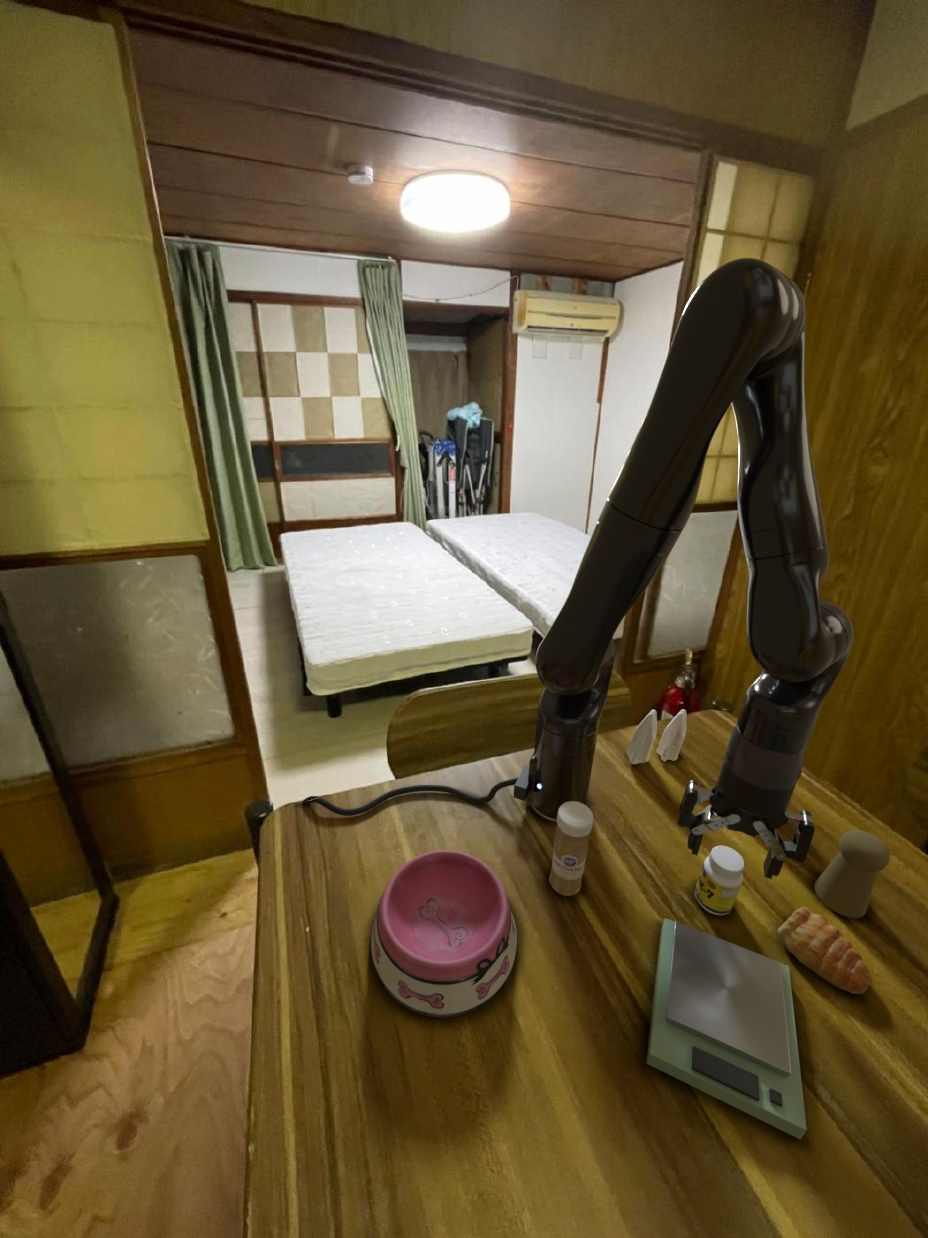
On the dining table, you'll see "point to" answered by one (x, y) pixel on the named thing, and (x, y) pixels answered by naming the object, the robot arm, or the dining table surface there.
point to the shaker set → (647, 734)
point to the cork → (852, 873)
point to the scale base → (726, 1058)
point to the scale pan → (728, 997)
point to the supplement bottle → (720, 880)
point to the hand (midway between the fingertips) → (729, 861)
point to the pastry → (825, 951)
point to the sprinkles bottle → (570, 847)
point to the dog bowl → (444, 935)
